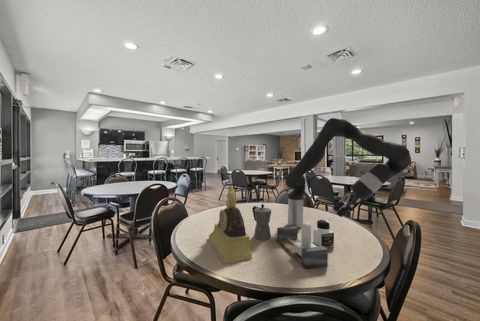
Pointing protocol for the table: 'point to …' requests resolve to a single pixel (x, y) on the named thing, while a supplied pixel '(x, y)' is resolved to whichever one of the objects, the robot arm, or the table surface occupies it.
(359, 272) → the table surface
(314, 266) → the rail
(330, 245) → the medicine bottle
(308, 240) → the carriage
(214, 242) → the decorative clock
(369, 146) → the robot arm
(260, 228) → the coffeepot
